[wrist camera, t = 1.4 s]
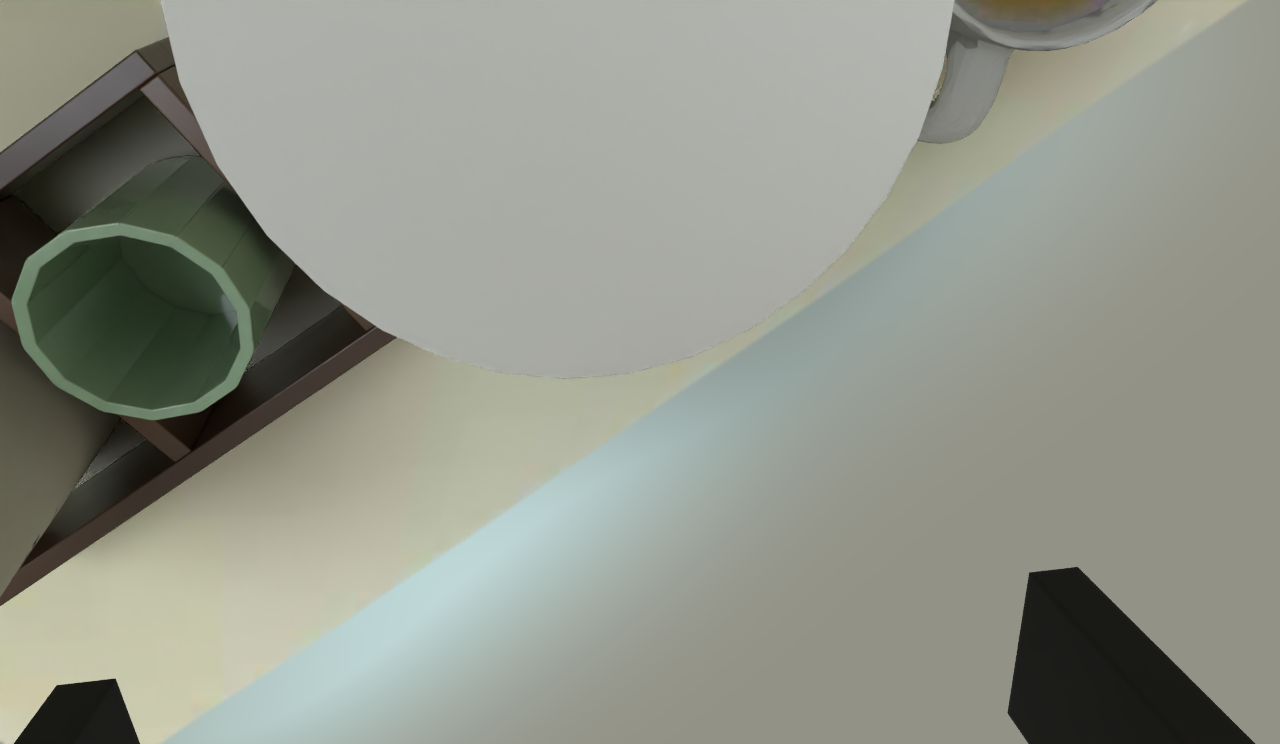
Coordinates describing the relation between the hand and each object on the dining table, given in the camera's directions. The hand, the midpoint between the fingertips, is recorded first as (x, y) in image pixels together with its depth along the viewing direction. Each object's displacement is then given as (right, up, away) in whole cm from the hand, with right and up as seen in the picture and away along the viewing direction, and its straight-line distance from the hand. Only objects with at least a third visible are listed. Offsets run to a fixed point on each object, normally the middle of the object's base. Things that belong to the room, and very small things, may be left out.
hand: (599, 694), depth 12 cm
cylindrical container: (-5, +20, +17) cm, 26 cm away
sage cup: (-16, +10, +20) cm, 27 cm away
